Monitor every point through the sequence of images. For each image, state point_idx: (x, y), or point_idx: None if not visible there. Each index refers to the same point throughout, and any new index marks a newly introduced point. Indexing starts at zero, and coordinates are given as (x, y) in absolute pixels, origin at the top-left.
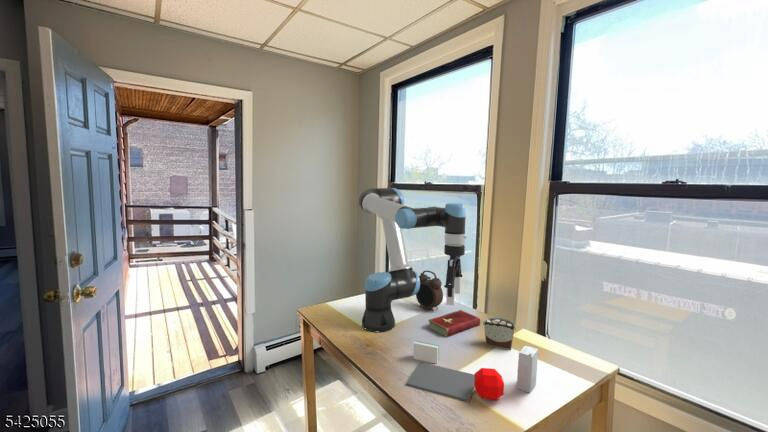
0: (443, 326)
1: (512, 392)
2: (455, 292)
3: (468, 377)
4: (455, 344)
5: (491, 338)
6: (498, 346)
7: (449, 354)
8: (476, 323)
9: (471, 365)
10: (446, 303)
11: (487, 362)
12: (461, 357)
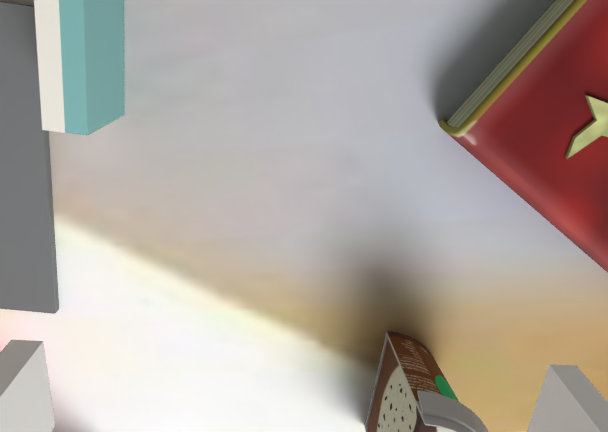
0: (504, 101)
1: None
2: (546, 405)
3: (14, 278)
4: (352, 183)
5: (390, 381)
6: (378, 384)
7: (220, 163)
8: None
9: (150, 278)
10: (3, 353)
11: (209, 341)
12: (211, 228)
